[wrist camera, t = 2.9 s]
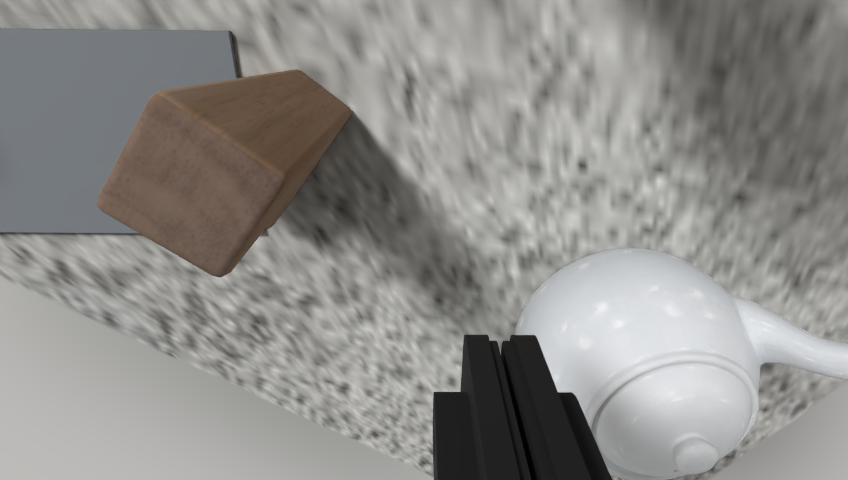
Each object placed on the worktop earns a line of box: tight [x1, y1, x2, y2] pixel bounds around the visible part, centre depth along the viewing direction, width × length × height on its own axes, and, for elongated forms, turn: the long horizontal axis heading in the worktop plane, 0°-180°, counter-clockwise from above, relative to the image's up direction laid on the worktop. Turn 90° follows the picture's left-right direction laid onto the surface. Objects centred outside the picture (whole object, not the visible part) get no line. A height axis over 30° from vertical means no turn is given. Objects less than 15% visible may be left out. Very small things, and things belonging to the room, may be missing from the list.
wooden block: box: [97, 70, 351, 277], centre depth 22 cm, size 9×4×18 cm, turn 142°
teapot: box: [515, 248, 848, 480], centre depth 32 cm, size 19×18×14 cm
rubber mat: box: [0, 29, 264, 234], centre depth 30 cm, size 21×14×1 cm, turn 90°
